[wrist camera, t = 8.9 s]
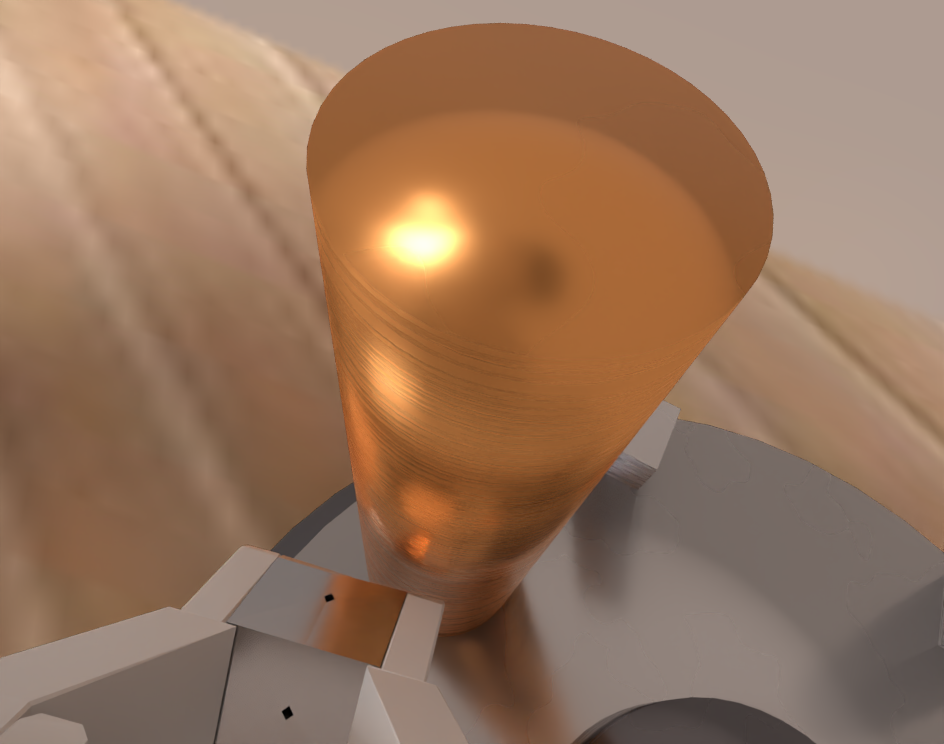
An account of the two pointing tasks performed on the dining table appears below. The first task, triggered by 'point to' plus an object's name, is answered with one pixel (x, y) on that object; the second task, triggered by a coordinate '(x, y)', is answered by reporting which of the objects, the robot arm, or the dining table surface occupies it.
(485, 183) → the round lugged disc
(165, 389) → the dining table surface
